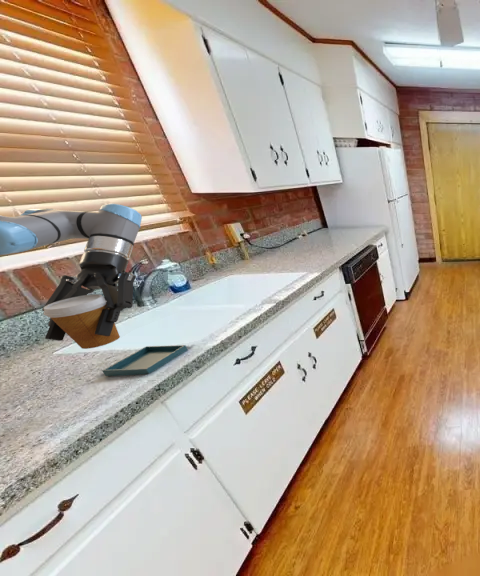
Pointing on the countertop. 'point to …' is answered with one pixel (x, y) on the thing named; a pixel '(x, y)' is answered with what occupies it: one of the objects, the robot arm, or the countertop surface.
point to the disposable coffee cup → (81, 319)
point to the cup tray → (145, 360)
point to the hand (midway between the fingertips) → (78, 337)
